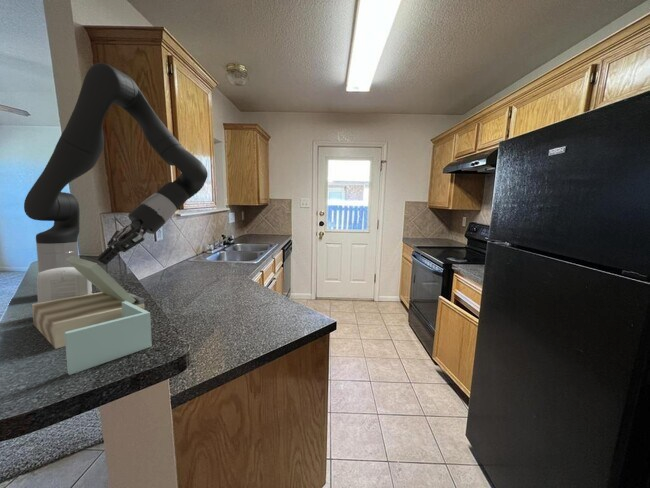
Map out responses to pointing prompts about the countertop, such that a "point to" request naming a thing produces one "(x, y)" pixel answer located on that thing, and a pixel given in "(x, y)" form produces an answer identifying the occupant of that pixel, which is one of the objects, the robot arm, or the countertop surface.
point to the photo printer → (61, 284)
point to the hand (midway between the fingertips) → (100, 262)
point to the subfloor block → (76, 314)
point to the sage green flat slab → (100, 279)
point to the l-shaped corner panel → (108, 339)
